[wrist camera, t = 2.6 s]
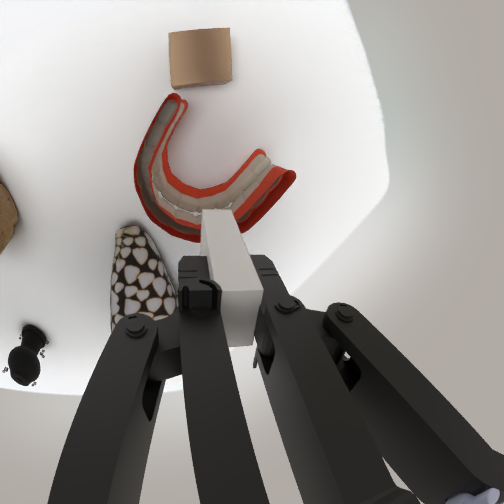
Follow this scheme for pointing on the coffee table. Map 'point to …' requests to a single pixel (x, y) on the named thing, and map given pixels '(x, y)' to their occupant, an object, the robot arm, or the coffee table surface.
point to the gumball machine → (26, 356)
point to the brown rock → (6, 217)
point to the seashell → (139, 278)
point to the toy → (192, 199)
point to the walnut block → (200, 57)
